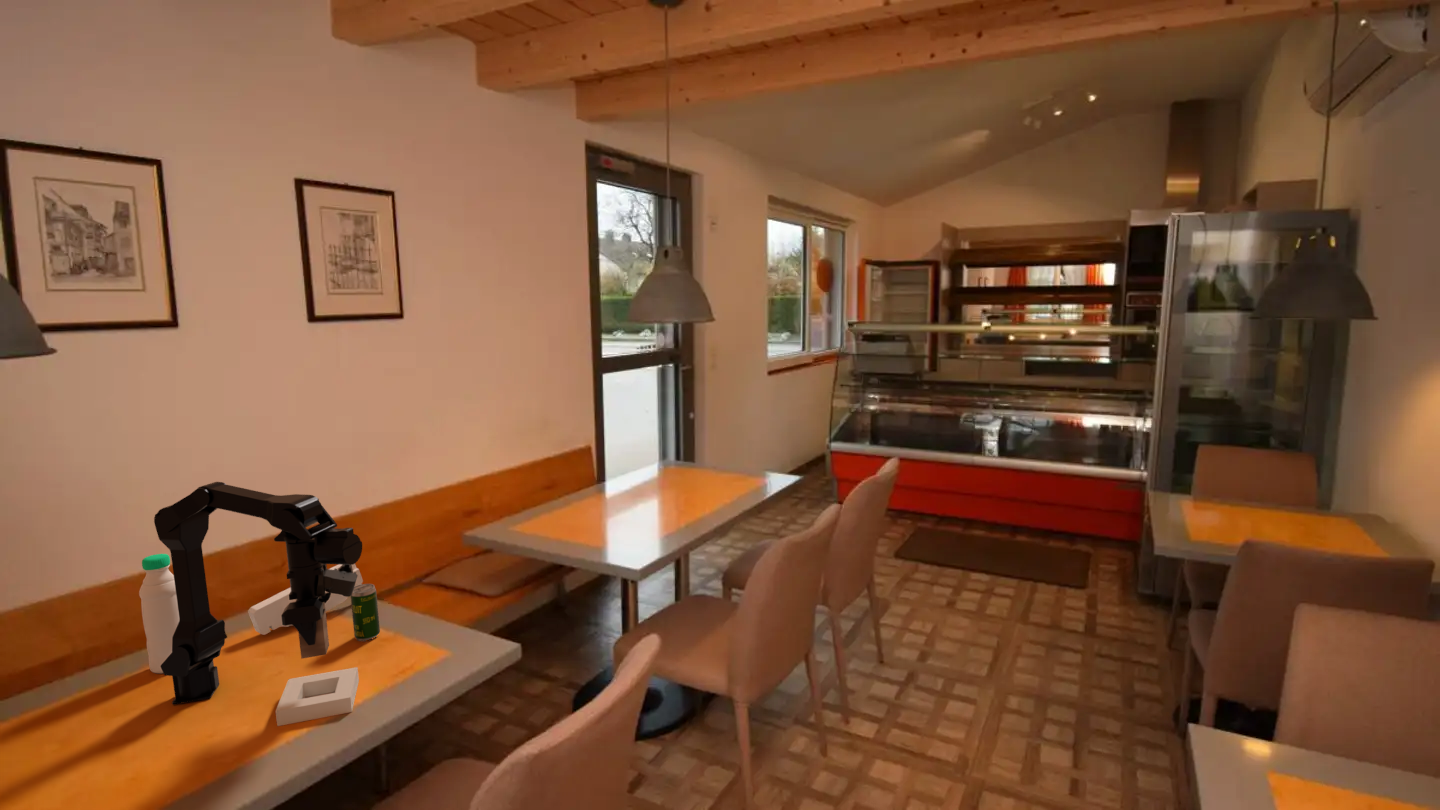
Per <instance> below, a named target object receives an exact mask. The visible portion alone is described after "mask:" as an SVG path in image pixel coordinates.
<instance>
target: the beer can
mask: <svg viewBox="0 0 1440 810" xmlns="http://www.w3.org/2000/svg"><path fill="white" fill-rule="evenodd" d="M350 602H351V603H350V605H351V613H352V614H351V615H352V625H353V626H352V627H353V633H354V635H353V636H354V638H355V639H356V641H358V642H367V641H366V640H369V639H372V638H374V637H376V636H377V635H378V634H379V635H380V632H381V627H380V619H379V618H380V617H379V605H378V597H377V589H376V587H375V584H373V583H364V584H363V583H362V585H358V586H355V587H354V589H353V593H352V596H350ZM379 635H378V636H379ZM376 638H377V637H376ZM372 640H373V639H372ZM369 641H370V640H369Z"/></svg>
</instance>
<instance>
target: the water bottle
mask: <svg viewBox="0 0 1440 810" xmlns="http://www.w3.org/2000/svg"><path fill="white" fill-rule="evenodd" d="M141 566H142V569H143V571H144V572H145V577H144V578H143V580H142V584H141V586H140V587H139V591H138V596H139V598H140V599H141V601H140V602H141V603H140V604H141V605H140V607H141V616H142V624H143V629H144V633H145V637H146V650H147V653H148V665H149V666H148V667H149V670H150V671H151V672H152V673H153V674H164V673H163V671H162V669H161V664H162V663H163V662H164V661H165V660H166V659H167V658H168V656H169V655H170V654H171V653H172V637H173V635H174V632H175V630H176V628H177V625H178V623H179V619H180V618H179V611H178V603H177V596H176V588H175V581H174V574H173V572H171V571H170V569H169V568H170V566H171V556H170V555H169V554H168V553H157V554H151V555H148V556H146V557H144V558H142V561H141Z"/></svg>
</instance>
